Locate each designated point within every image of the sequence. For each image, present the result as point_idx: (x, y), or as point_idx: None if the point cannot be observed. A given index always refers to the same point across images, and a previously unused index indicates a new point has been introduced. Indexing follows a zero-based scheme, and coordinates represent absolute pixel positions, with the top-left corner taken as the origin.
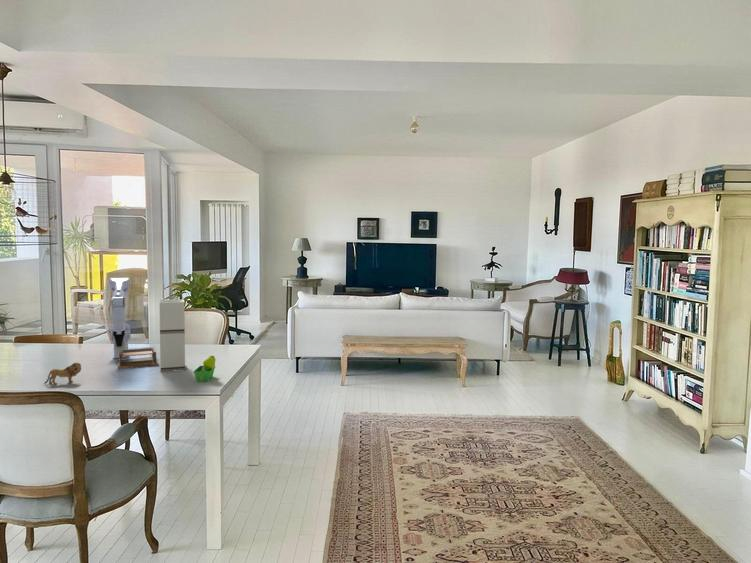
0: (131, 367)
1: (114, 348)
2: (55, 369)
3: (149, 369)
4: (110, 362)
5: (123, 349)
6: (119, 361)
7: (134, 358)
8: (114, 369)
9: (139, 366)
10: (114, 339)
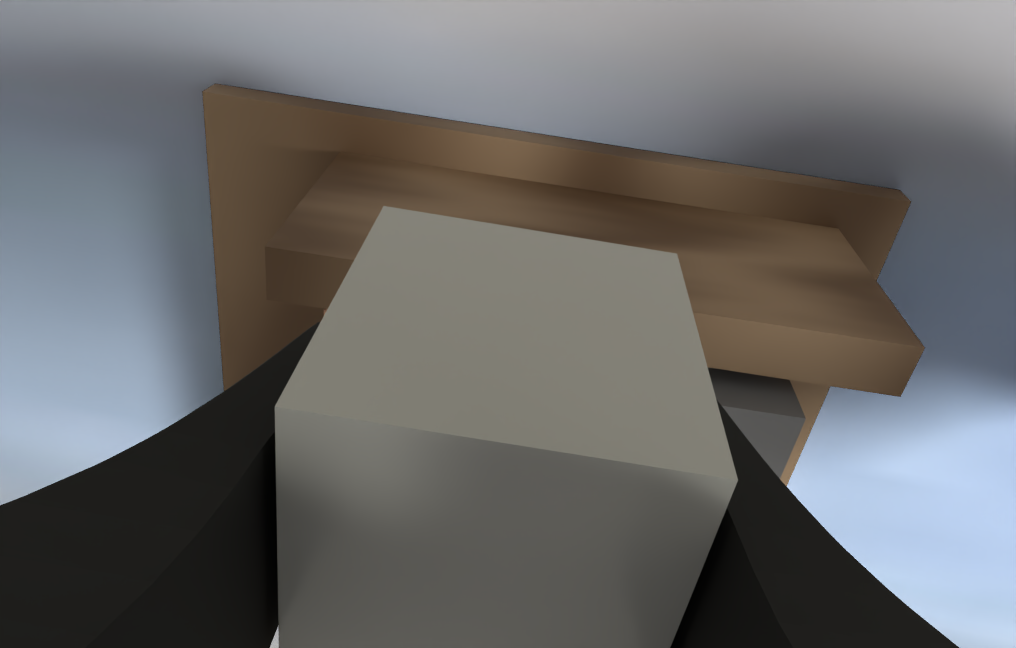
0: (222, 297)
1: (375, 227)
2: None
3: (66, 460)
4: (907, 57)
5: (739, 425)
6: (689, 209)
7: (794, 451)
8: (236, 27)
9: None
10: (430, 445)
